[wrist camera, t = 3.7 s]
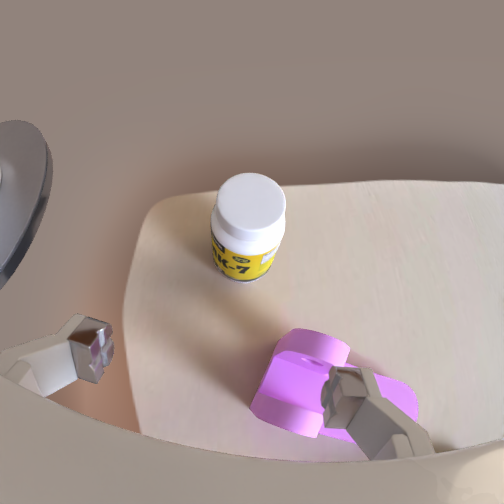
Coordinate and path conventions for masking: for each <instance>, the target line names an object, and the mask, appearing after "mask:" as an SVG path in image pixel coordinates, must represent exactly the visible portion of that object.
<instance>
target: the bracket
mask: <svg viewBox="0 0 504 504" xmlns="http://www.w3.org/2000/svg"><path fill="white" fill-rule="evenodd" d="M349 350H350V348H349V346H348V345H346V344H345V343H343V342H342V341H340V340H338V339H336V338H333V337H331V336H328V335H326V334H323V333H319V332H316V331H312V330H307V329H293V330H291V331H290V332H289V333H287V334H286V335H285V336H284V337H282V338H281V339H280V340H278V343H277V345H276V347H275V350H274V352H273V355H272V357H271V359H270V362H269V364H268V367H267V369H266V371H265V374H264V376H263V378H262V381H261V383H260V385H259V388H258V390H257V392H256V394H255V397H254V399H253V401H252V403H251V406H250V408H249V409H250V410H251V411H252V412H253V413H254V415H255V416H256V417H257V418H259V419H261V420H263V421H265V422H268V423H270V424H272V425H275V426H277V427H280V428H283V429H285V430H288V431H291V432H294V433H297V434H301V435H305V436H309V437H314V438H316V437H317V434H318V433H319V434H322V435H326V436H329V437H333V438H337V439H340V440H344V441H348V442H352V443H356V442H355V441H354V440H353V439H352V437H351V436H350V435H349V434H348V432H347V431H346V429H332V428H324V421H323V415H322V414H323V412H324V410H325V409H324V408H323V407H322V406H321V401H320V399H321V390H322V387H323V384H324V382H325V381H327V380H328V379H329V375H328V373H329V371H330V368H331V367H332V366H343V367H356V366H353V365H351V364H348V363H345V362H346V359H347V356H348V353H349ZM356 368H358V367H356ZM374 376H375V379H376V381H377V384H378V387H379V390H380V392H381V395H382V397H384V398H387V399H388V400H389V401H391V402H392V403H393V404H394V405H395V406H397V407H398V408H399V409H400V410H401V411H403V412H404V413H405V414H406V415H408V416H409V417H410V418H411V419H413V420H414V421H415V422H416V421H417V417H418V401H417V398H416V395H415V393H414V392H413V390H412V389H411V388H410V387H409V386H408V385H407V384H405V383H403V382H400V381H397V380H394V379H391V378H388V377H385V376H382V375H379V374H376V373H374Z"/></svg>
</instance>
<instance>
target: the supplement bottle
mask: <svg viewBox="0 0 504 504" xmlns="http://www.w3.org/2000/svg"><path fill="white" fill-rule="evenodd" d="M285 209H286V199H285V196H284V193H283V191H282V189H281V188H280V187H279V185H278V184H277V183H276V182H275V181H273V180H272V179H270V178H268V177H266V176H264V175H261V174H257V173H242V174H238V175H235V176H233V177H231V178H229V179H228V180H227V181H225V182H224V183H223V185H222V186H221V187H220V189H219V191H218V194H217V198H216V204H215V206H214V208H213V211H212V214H211V236H212V250H213V259H214V263H215V266H216V267H217V269H218V271H219V272H220V273H221V274H222V275H223V276H224V277H226V278H228V279H229V280H232V281H234V282H238V283H249V282H253V281H256V280H258V279H260V278H261V277H262V276H264V275H265V274H266V273H267V271H268V270H269V268H270V266H271V264H272V261H273V259H274V256H275V254H276V252H277V249H278V247H279V244H280V242H281V239H282V237H283V234H284V231H285V216H284V213H285Z"/></svg>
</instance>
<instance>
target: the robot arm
mask: <svg viewBox="0 0 504 504" xmlns="http://www.w3.org/2000/svg"><path fill="white" fill-rule="evenodd" d="M0 184H1V167H0ZM112 333H113V331H112V325H111V324H109V323H106V322H103V321H99V320H97V319H93V318H90V317H87V316H84V315H81V314H74V315H73V316H72V317H71V318H70V319H69V320H68V322H67V323H66V324H65V325H64V326H63V327H62V328H61V329H60V330H59V331H58V332H57V333H56V334H55V335H52V334H51V335H48V336H45V337H42V338H38V339H35V340H32V341H29V342H26V343H23V344H20V345H17V346H14V347H11V348H7V349H4V350H3V351H2V352H1V353H0V504H504V439H498V440H494V441H490V442H487V443H483V444H479V445H475V446H471V447H467V448H462V449H457V450H453V451H447V452H442V453H435V450H434V448H433V445H432V443H431V440H430V438H429V435H428V433H427V431H426V430H425V429H424V428H422V427H421V426H420V425H419V424H417V423H416V422H415V421H414V420H413V419H411V418H410V417H409V416H408V415H406V414H405V413H404V412H403V411H401V410H400V409H399V408H398V407H397V406H395V405H394V404H393V403H392V402H391V401H389V400H388V399H387V398H384V397H382V395H381V392H380V390H379V387H378V384H377V381H376V379H375V376H374V373H373V371H372V369H371V368H362V367H358V368H356V367H343V366H332V367H331V368H330V371H329V373H328V375H329V379H328V380H327V381H325V382H324V384H323V387H322V390H321V399H320V401H321V406H322V407H323V408H324V409H325V410H324V412H323V414H322V415H323V421H324V428H332V429H346V431H347V432H348V434H349V435H350V436H351V437H352V439H353V440H354V441H355V442H356V444H357V445H358V446H359V447H360V448H361V450H362V451H363V452H364V453H365V454H366V456H367V457H368V458H369V459H370V461H356V462H311V461H290V460H277V459H266V458H257V457H248V456H241V455H234V454H227V453H221V452H215V451H210V450H204V449H199V448H194V447H190V446H185V445H181V444H176V443H172V442H168V441H164V440H160V439H156V438H153V437H149V436H145V435H142V434H138V433H135V432H132V431H128V430H126V429H123V428H119V427H116V426H113V425H110V424H107V423H105V422H102V421H99V420H97V419H94V418H91V417H89V416H86V415H84V414H81V413H79V412H76V411H74V410H71V409H69V408H67V407H64V406H61V405H60V404H57V403H55V402H53V401H51V400H49V399H46V398H45V397H46V396H48V395H50V394H52V393H54V392H55V391H57V390H59V389H61V388H62V387H64V386H66V385H68V384H70V383H71V382H73V381H75V380H77V379H78V378H80V379H83V380H86V381H89V382H92V383H95V384H97V383H98V382H99V380H100V379H101V377H102V375H103V374H104V369H103V368H104V367H106V366H108V365H109V364H110V362H111V361H112V358H113V354H114V342H113V341H112V339H111V338H110V336H111V335H112Z"/></svg>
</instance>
